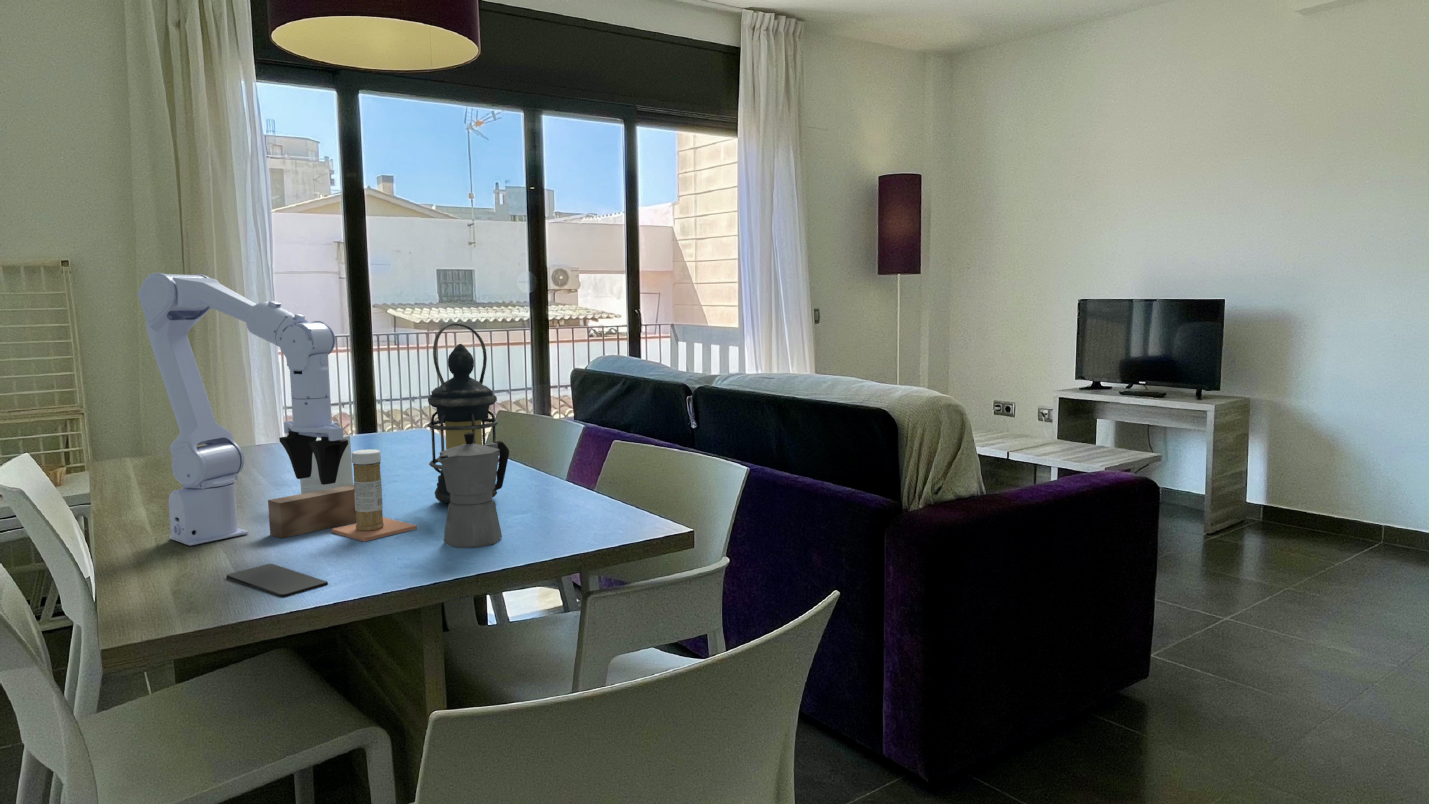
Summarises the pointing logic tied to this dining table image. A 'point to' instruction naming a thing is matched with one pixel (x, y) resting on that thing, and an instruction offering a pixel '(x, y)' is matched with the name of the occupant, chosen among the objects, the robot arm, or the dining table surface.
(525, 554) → the dining table surface
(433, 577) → the dining table surface
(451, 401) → the lantern
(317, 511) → the long brown wooden block
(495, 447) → the coffeepot
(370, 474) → the sprinkles bottle
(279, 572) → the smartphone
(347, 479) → the supplement box
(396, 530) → the pad
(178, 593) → the dining table surface
